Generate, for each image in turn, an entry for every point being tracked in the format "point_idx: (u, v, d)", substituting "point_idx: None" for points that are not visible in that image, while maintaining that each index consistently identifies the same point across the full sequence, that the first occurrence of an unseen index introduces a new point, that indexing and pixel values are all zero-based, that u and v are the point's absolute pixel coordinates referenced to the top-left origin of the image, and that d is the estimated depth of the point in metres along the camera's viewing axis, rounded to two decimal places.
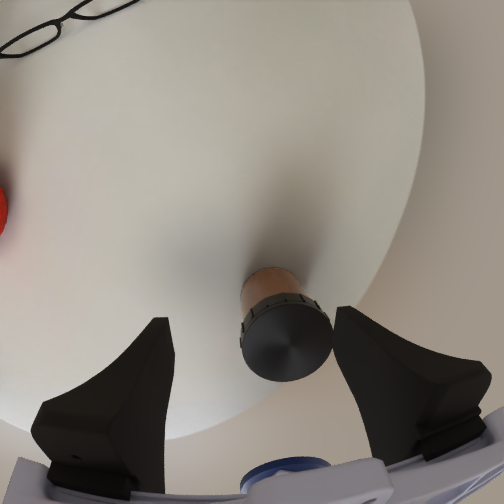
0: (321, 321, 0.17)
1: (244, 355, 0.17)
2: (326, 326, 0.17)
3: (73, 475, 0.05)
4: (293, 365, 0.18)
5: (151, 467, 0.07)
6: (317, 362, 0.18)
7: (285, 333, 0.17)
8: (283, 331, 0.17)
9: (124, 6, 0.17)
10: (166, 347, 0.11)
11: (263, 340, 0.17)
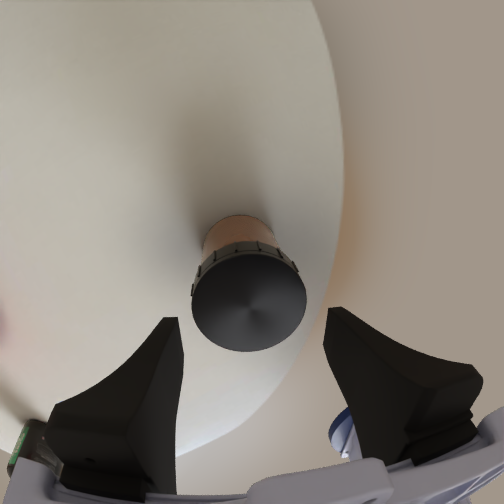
0: (268, 264, 0.14)
1: (209, 338, 0.15)
2: (279, 266, 0.14)
3: (86, 478, 0.05)
4: (270, 325, 0.15)
5: (164, 468, 0.07)
6: (297, 310, 0.15)
7: (235, 296, 0.14)
8: (231, 295, 0.14)
9: None
10: (176, 347, 0.11)
11: (216, 314, 0.15)
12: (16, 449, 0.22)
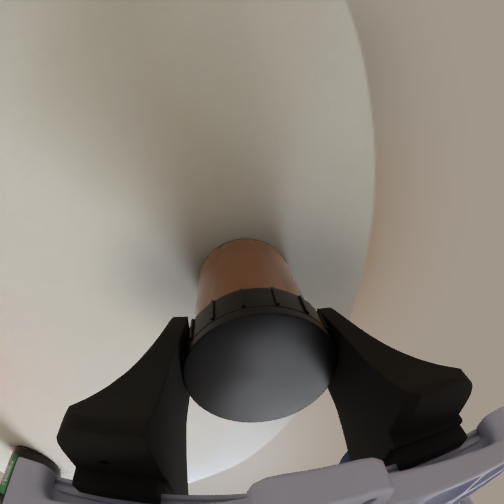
0: (290, 325, 0.10)
1: (207, 410, 0.11)
2: (304, 328, 0.10)
3: (100, 481, 0.05)
4: (288, 394, 0.11)
5: (177, 468, 0.07)
6: (323, 376, 0.11)
7: (242, 365, 0.10)
8: (237, 364, 0.10)
9: None
10: None
11: (217, 386, 0.10)
12: (5, 477, 0.18)
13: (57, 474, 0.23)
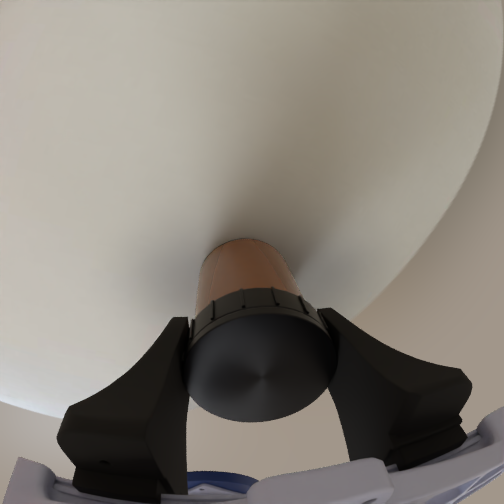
0: (289, 325, 0.10)
1: (207, 410, 0.11)
2: (304, 328, 0.10)
3: (100, 480, 0.05)
4: (288, 395, 0.11)
5: (177, 468, 0.07)
6: (323, 376, 0.11)
7: (242, 366, 0.10)
8: (236, 364, 0.10)
9: None
10: None
11: (217, 386, 0.10)
12: None
13: None
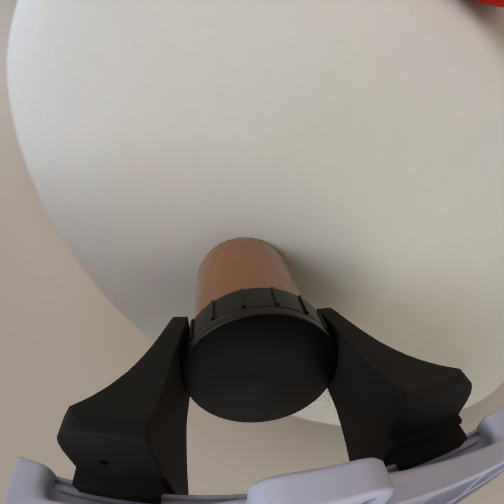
0: (289, 325, 0.10)
1: (207, 410, 0.11)
2: (304, 328, 0.10)
3: (100, 480, 0.05)
4: (287, 395, 0.11)
5: (177, 468, 0.07)
6: (323, 376, 0.11)
7: (242, 366, 0.10)
8: (236, 365, 0.10)
9: None
10: None
11: (217, 386, 0.10)
12: None
13: None
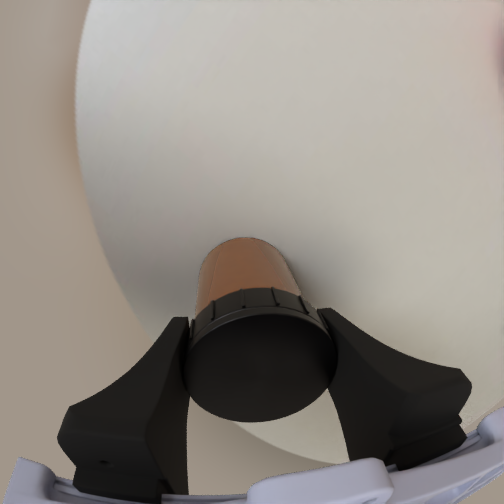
0: (290, 325, 0.10)
1: (207, 410, 0.11)
2: (304, 328, 0.10)
3: (101, 481, 0.05)
4: (288, 395, 0.11)
5: (178, 468, 0.07)
6: (323, 376, 0.11)
7: (242, 366, 0.10)
8: (237, 365, 0.10)
9: None
10: None
11: (217, 386, 0.10)
12: None
13: None
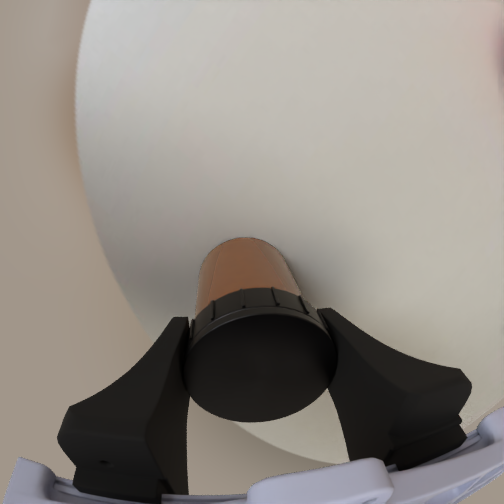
0: (290, 325, 0.10)
1: (207, 410, 0.11)
2: (304, 328, 0.10)
3: (101, 481, 0.05)
4: (288, 395, 0.11)
5: (178, 468, 0.07)
6: (323, 376, 0.11)
7: (242, 366, 0.10)
8: (237, 365, 0.10)
9: None
10: None
11: (217, 386, 0.10)
12: None
13: None
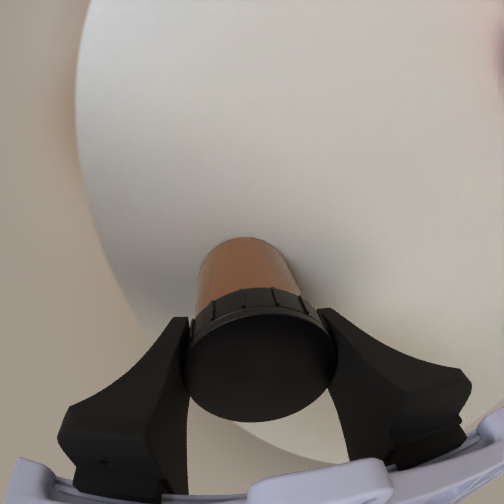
0: (290, 325, 0.10)
1: (207, 410, 0.11)
2: (304, 328, 0.10)
3: (101, 481, 0.05)
4: (288, 395, 0.11)
5: (178, 468, 0.07)
6: (323, 376, 0.11)
7: (242, 366, 0.10)
8: (237, 365, 0.10)
9: None
10: None
11: (217, 386, 0.10)
12: None
13: None
